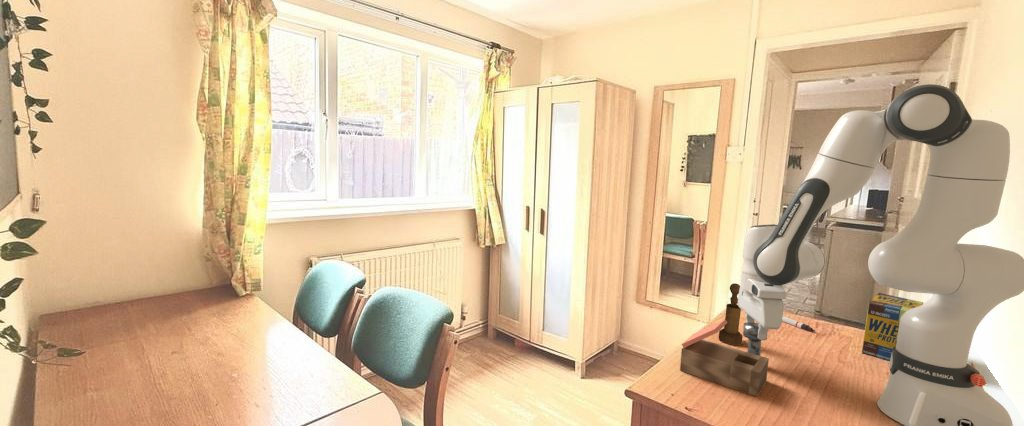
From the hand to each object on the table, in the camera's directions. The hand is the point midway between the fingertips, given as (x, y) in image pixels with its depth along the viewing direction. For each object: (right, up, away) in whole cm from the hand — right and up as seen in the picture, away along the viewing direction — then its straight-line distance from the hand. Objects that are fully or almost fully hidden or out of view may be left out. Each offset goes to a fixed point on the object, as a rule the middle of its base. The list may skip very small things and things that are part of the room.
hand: (755, 334), depth 116 cm
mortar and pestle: (+1, -7, +16) cm, 17 cm away
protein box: (+45, -9, +11) cm, 47 cm away
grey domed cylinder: (0, -6, 0) cm, 6 cm away
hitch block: (-12, -9, -6) cm, 16 cm away
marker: (+30, -6, +31) cm, 43 cm away
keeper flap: (-15, +1, -4) cm, 16 cm away
